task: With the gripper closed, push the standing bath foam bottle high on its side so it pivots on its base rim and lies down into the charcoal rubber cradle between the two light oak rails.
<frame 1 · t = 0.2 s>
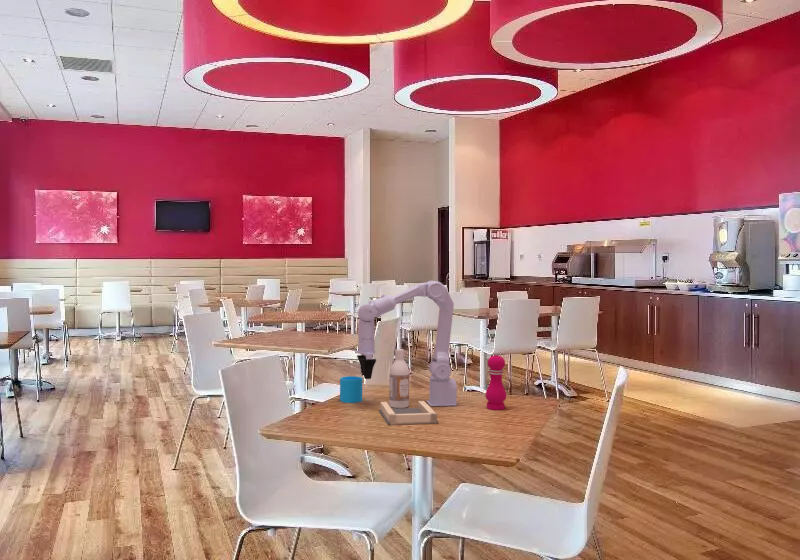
hand: (366, 376, 240), 10 cm above the table, tool pointing down, fingers open, 7 cm apart
cradle: (407, 416, 224), on the table
mug: (352, 400, 250), on the table
bath foam: (399, 406, 239), on the table
pepper mill: (495, 408, 238), on the table
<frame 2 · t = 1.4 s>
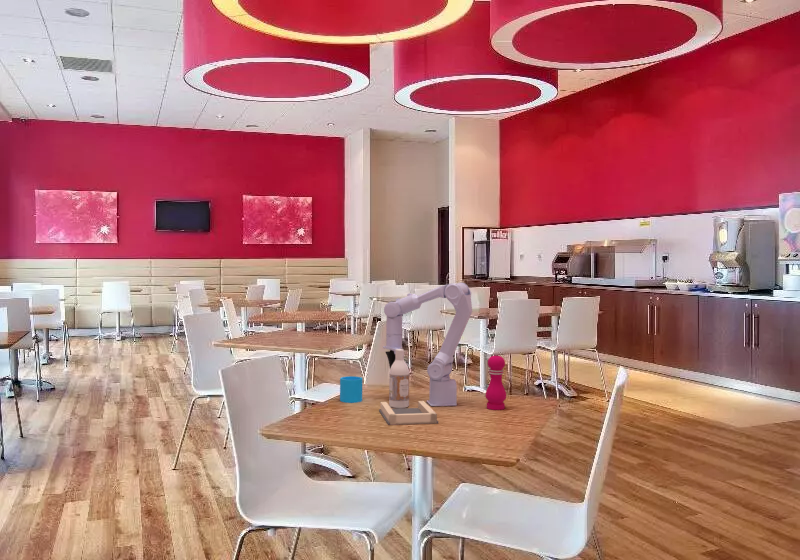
hand: (393, 371, 251), 10 cm above the table, tool pointing down, fingers closed
nothing on the table moved.
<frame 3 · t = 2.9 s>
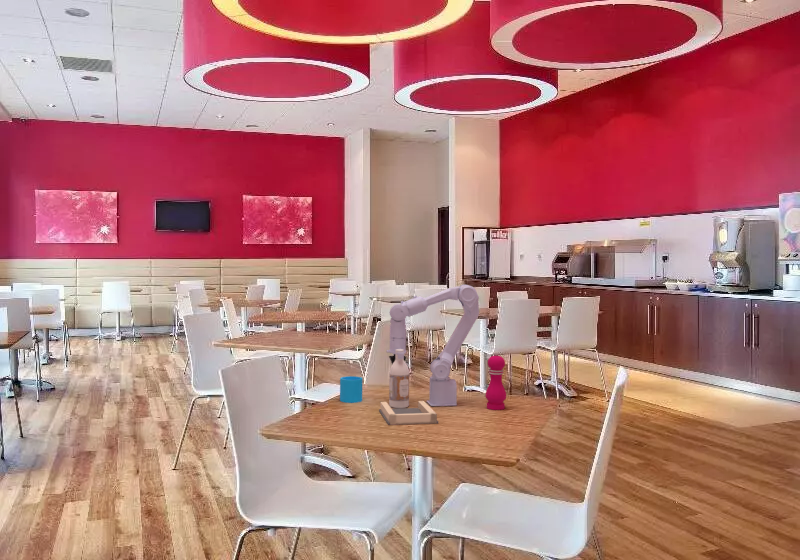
hand: (397, 376, 243), 10 cm above the table, tool pointing down, fingers closed
bath foam: (399, 406, 239), on the table, touching gripper
everything else where it was.
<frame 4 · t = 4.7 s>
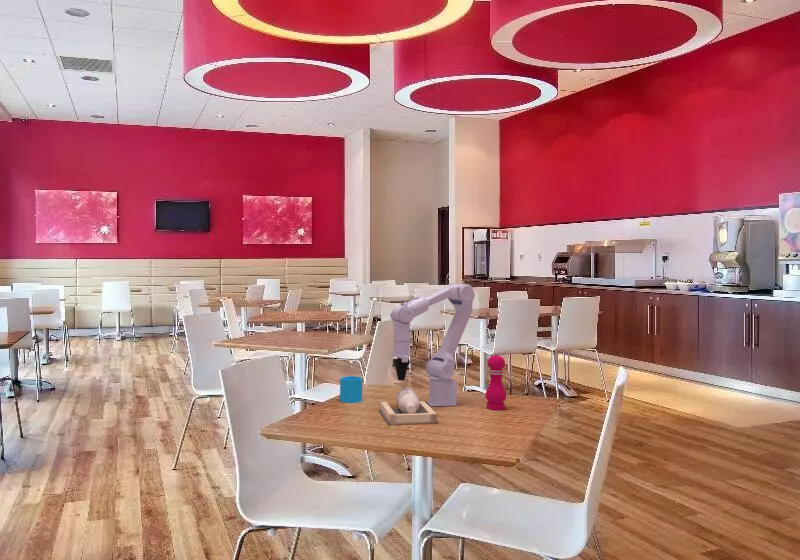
hand: (401, 380, 235), 10 cm above the table, tool pointing down, fingers closed
bath foam: (406, 396, 236), point 4 cm above the table, touching cradle
everything else where it was.
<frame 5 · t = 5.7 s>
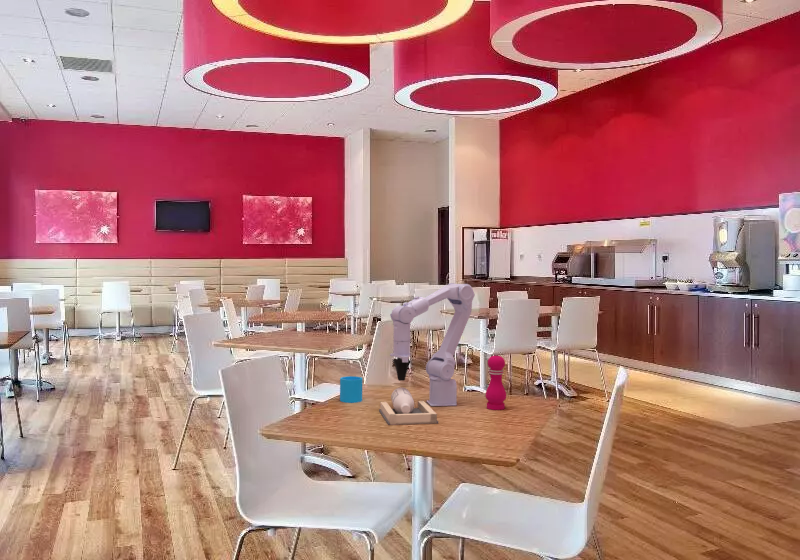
hand: (401, 380, 235), 10 cm above the table, tool pointing down, fingers closed
bath foam: (401, 396, 236), point 4 cm above the table, touching cradle
everything else where it was.
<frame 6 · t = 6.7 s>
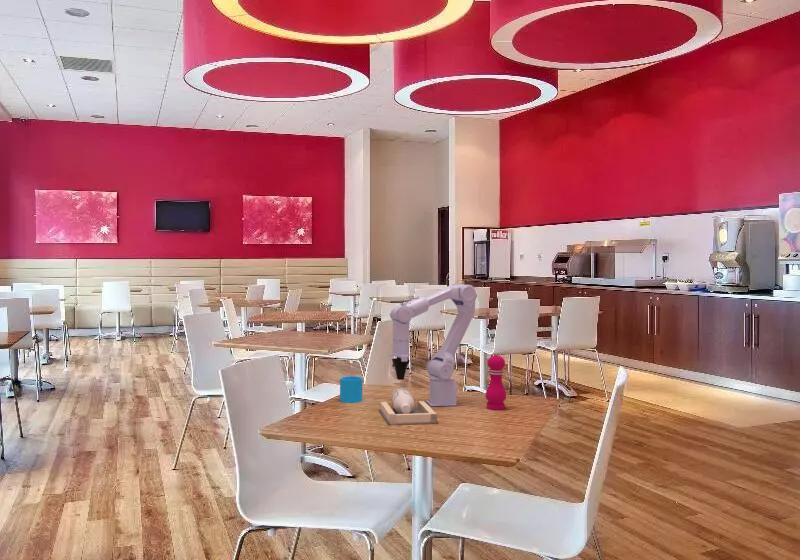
hand: (400, 379, 237), 10 cm above the table, tool pointing down, fingers closed
nothing on the table moved.
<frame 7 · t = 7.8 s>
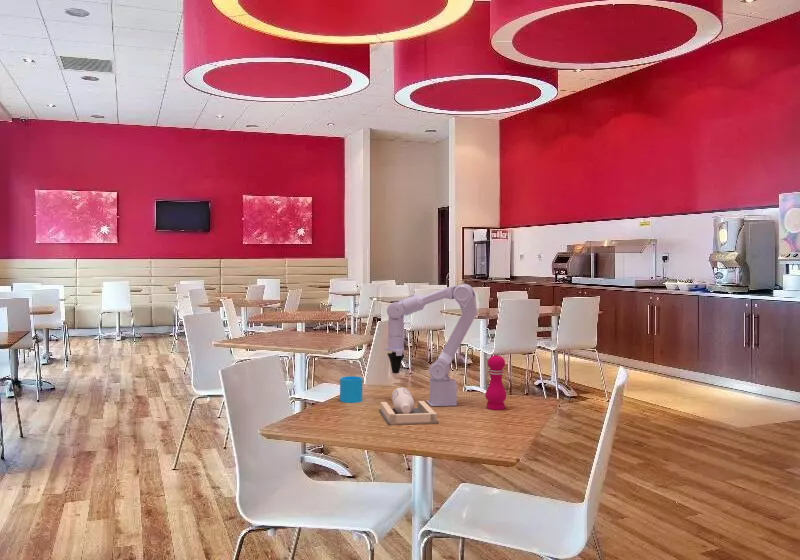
hand: (395, 373, 247), 10 cm above the table, tool pointing down, fingers closed
nothing on the table moved.
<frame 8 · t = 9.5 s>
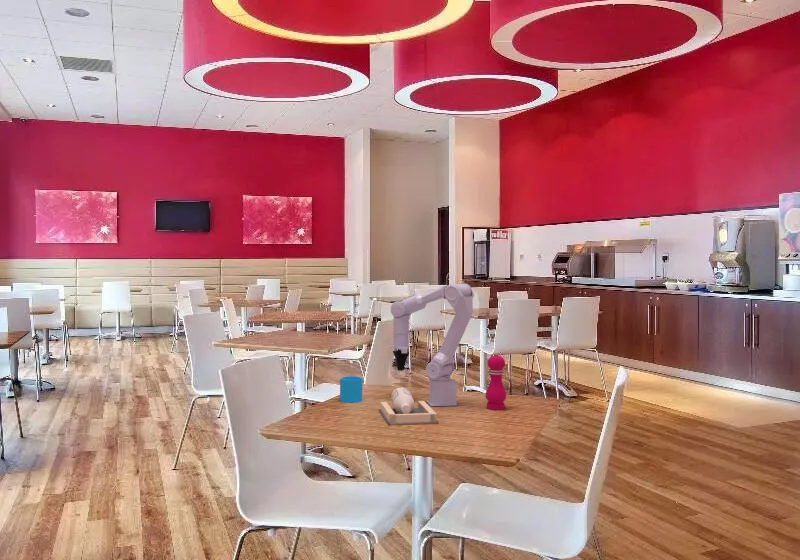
hand: (400, 370, 253), 10 cm above the table, tool pointing down, fingers closed
nothing on the table moved.
at the end: bath foam tilted 90°; bath foam inside the target area (11.0 cm from its centre), point 4.1 cm above the table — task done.
